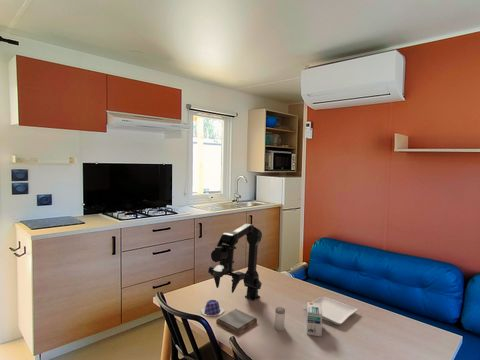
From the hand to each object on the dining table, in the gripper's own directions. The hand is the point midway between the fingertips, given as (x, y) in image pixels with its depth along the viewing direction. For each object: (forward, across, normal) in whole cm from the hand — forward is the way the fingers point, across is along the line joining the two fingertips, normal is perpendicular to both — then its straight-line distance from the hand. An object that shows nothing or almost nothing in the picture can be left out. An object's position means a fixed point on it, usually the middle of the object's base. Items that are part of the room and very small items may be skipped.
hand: (224, 290), depth 153 cm
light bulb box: (+13, +41, +17) cm, 46 cm away
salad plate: (+11, +43, +37) cm, 57 cm away
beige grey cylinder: (+13, +27, +9) cm, 31 cm away
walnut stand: (+14, +8, +1) cm, 16 cm away
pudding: (+14, -9, +3) cm, 17 cm away
